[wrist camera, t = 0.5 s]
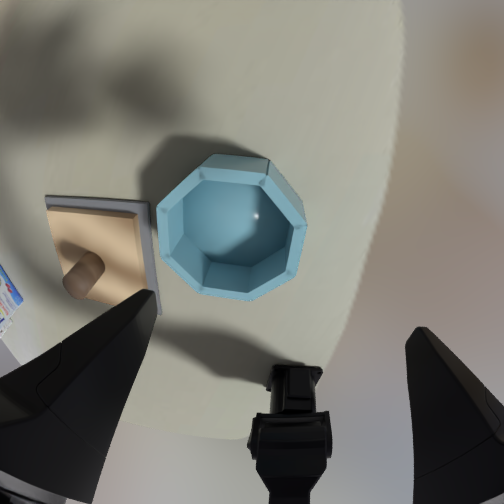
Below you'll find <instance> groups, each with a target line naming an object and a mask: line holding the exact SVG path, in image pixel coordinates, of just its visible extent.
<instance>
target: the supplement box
mask: <svg viewBox="0 0 504 504" xmlns="http://www.w3.org/2000/svg"><path fill="white" fill-rule="evenodd" d="M11 324H12V320H11V319H10V318H9V320H8V321H7V322H6V323H5V325H4V326H3V327H2V329H1V330H0V338H1V337H2V336H3V334H4V333H5V332H6V330H7V329H8V328H9V326H10V325H11Z"/></svg>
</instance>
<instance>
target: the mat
mask: <svg viewBox="0 0 504 504" xmlns="http://www.w3.org/2000/svg"><path fill="white" fill-rule="evenodd" d="M45 202H46V207H47V210H48V209H49V208H51V207H52V206H53V207H66V208H78V209H90V210H101V211H112V212H123V213H133V214H138V221H139V230H140V238H141V246H142V254H143V261H144V267H145V273H146V280H147V285H148V289H149V290H153V291H154V292H155V294H156V301H157V308H158V312H157V314H158V315H161V314H162V309H161V303H160V296H159V290H158V283H157V276H156V268H155V260H154V252H153V243H152V233H151V221H150V209H149V202H139V201H126V200H113V199H98V198H81V197H61V196H46V197H45Z"/></svg>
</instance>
